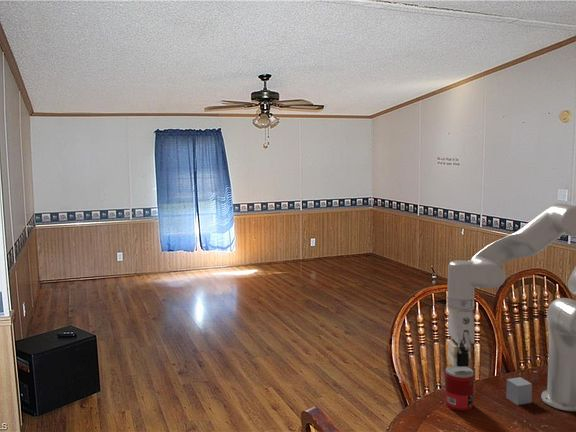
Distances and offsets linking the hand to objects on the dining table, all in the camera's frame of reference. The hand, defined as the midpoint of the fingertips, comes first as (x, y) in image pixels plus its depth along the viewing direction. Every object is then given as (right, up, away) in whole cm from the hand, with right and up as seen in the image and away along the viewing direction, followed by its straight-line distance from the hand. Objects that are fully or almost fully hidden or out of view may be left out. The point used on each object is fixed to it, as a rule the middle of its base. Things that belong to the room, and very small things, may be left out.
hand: (459, 361), depth 156 cm
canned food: (0, -14, +2) cm, 14 cm away
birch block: (0, -1, 0) cm, 1 cm away
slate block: (+19, -13, +4) cm, 24 cm away
